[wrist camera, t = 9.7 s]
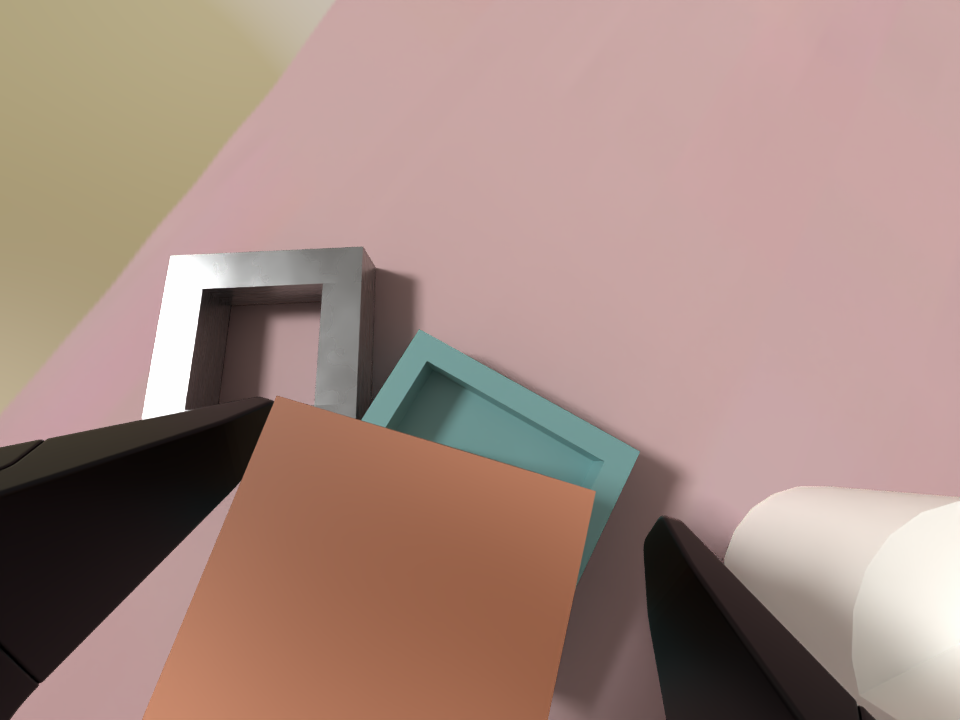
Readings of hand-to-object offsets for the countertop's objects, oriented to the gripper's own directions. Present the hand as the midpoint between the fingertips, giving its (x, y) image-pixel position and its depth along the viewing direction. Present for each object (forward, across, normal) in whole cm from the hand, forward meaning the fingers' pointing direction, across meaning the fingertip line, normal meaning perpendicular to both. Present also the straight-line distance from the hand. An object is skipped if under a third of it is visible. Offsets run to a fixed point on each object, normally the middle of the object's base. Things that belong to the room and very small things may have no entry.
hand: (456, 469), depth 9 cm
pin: (+5, 0, -7) cm, 8 cm away
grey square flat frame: (+8, -10, -5) cm, 14 cm away
